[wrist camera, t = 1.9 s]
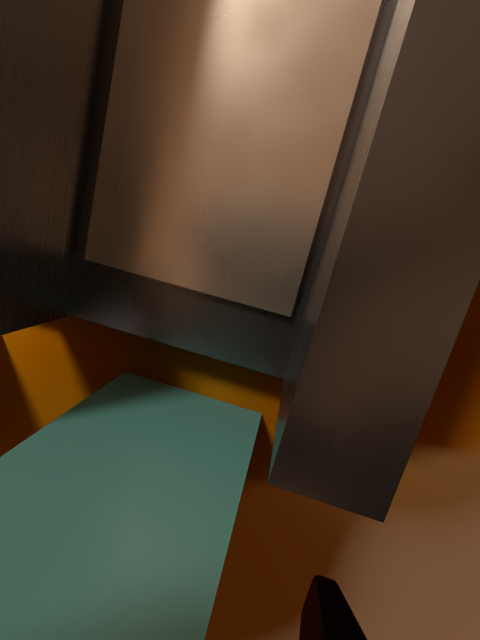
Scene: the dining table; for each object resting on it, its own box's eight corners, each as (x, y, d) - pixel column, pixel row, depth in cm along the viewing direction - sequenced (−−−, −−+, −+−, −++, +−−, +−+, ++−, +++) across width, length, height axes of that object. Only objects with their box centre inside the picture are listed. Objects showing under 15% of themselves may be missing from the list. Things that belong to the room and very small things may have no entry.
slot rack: (588, -135, 7) (1255, -1032, 2) (392, 397, 9) (487, 557, 4) (-206, -235, 9) (-809, -808, 4) (-199, 223, 11) (-571, 204, 7)
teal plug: (262, 413, 10) (175, 753, 3) (227, 534, 11) (103, 998, 4) (125, 371, 11) (-198, 592, 4) (102, 490, 11) (-193, 845, 5)
